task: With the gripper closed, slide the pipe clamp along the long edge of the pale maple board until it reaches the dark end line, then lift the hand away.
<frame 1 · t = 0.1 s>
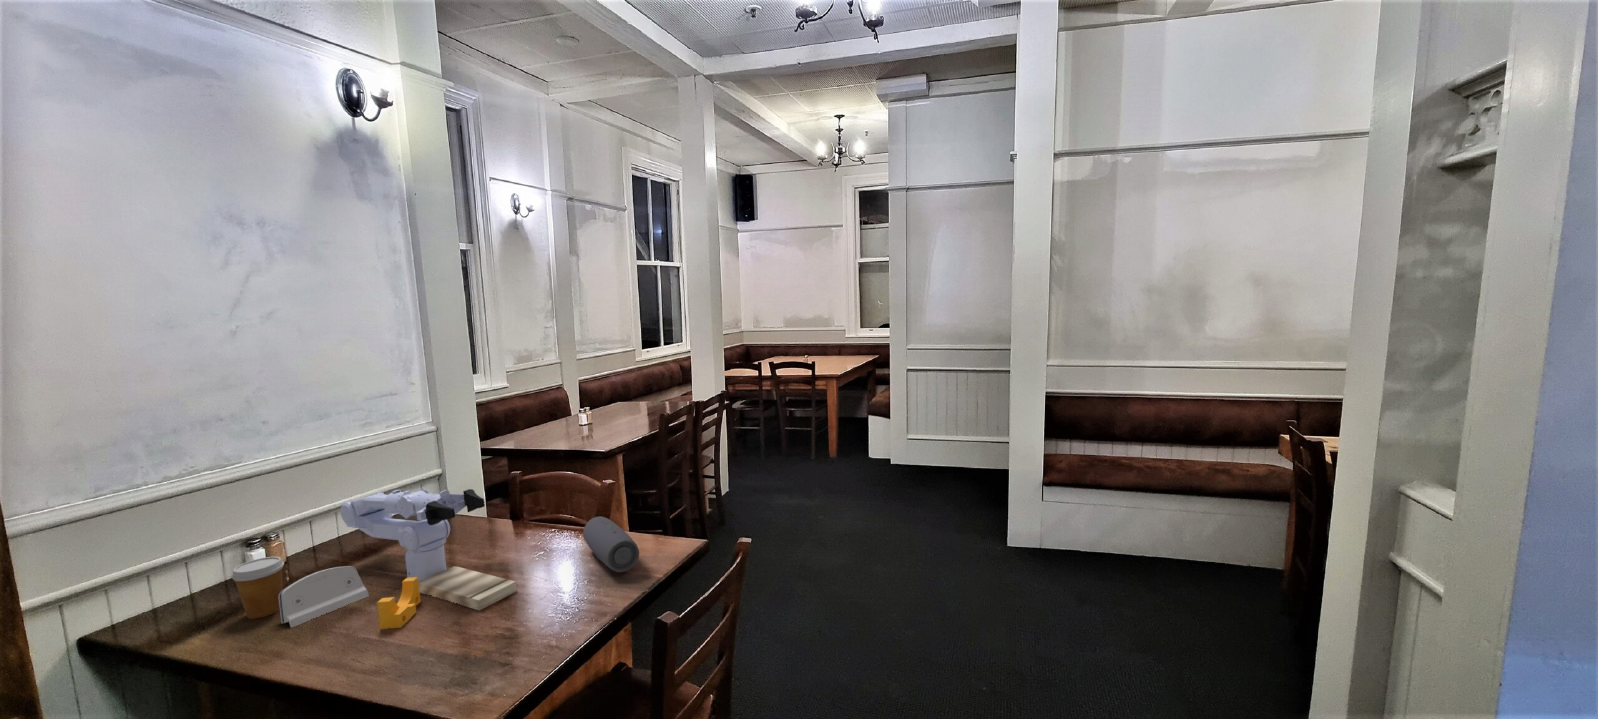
hand: (468, 507, 150), 22 cm above the table, tool horizontal, fingers open, 7 cm apart
gray arched bracket: (324, 609, 148), on the table
bluetooth speaker: (611, 562, 166), on the table
disposable coffee cup: (264, 612, 147), on the table
maple board: (466, 591, 153), on the table
pipe clamp: (405, 616, 143), on the table
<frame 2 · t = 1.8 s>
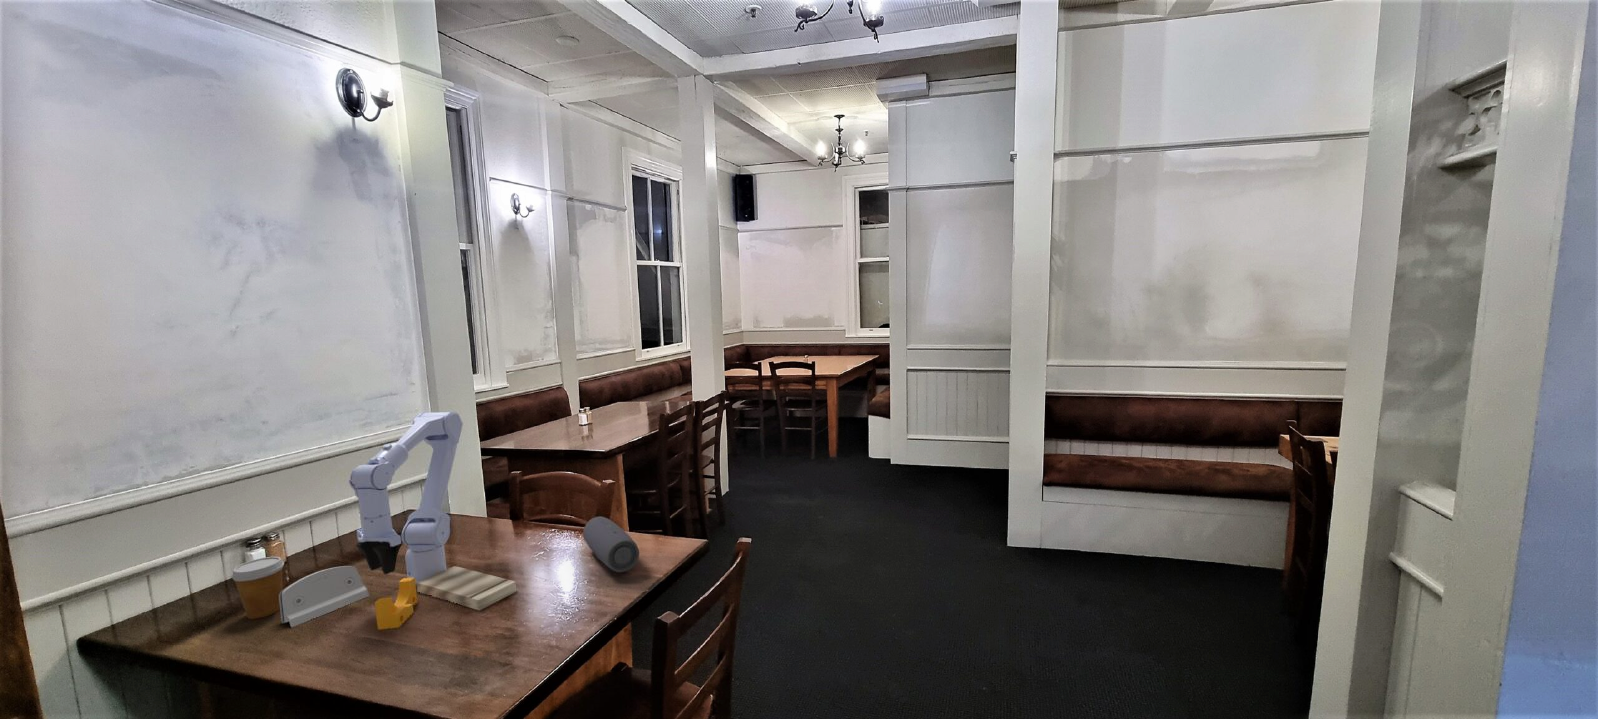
hand: (382, 570, 145), 9 cm above the table, tool pointing down, fingers open, 5 cm apart
nothing on the table moved.
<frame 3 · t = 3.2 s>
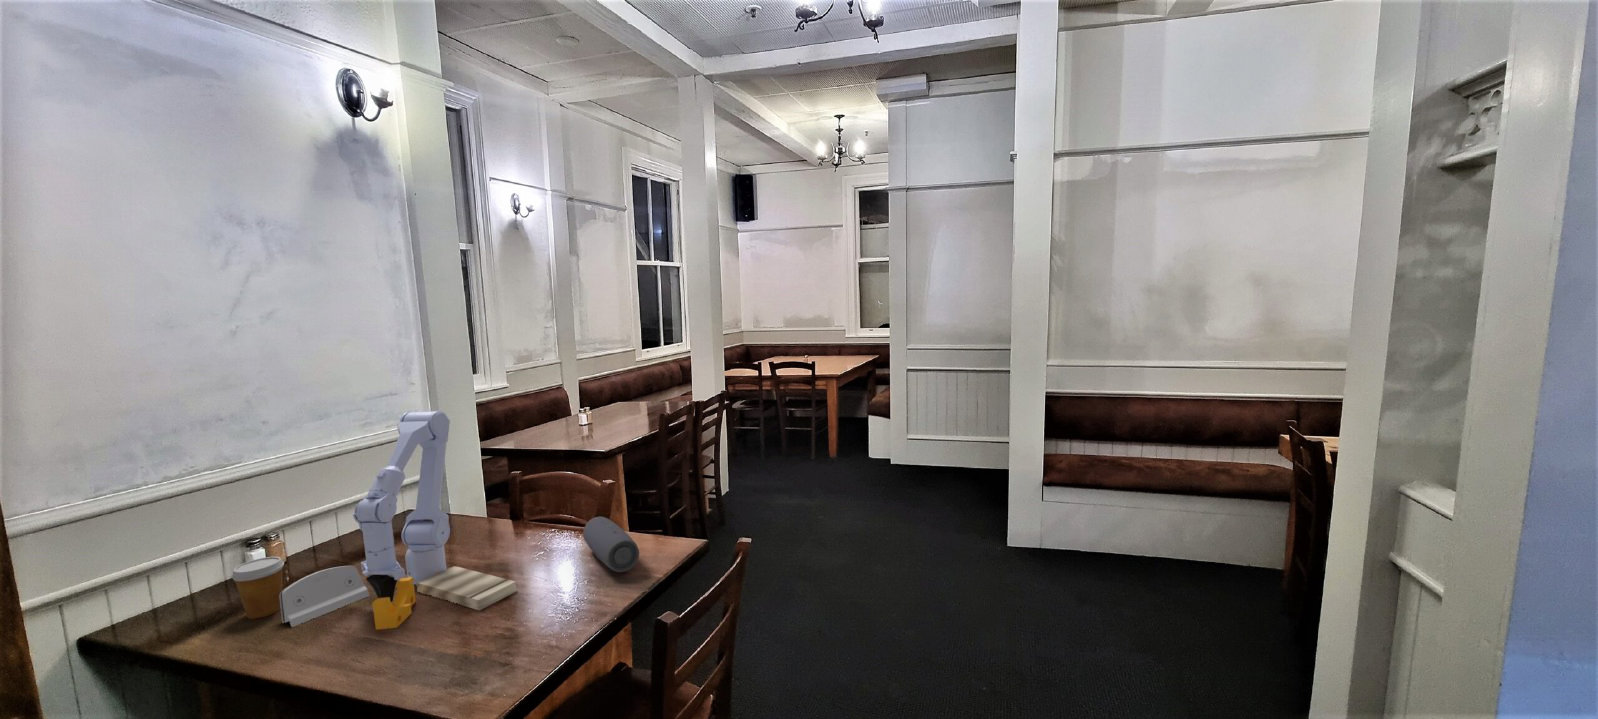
hand: (386, 602, 146), 1 cm above the table, tool pointing down, fingers closed
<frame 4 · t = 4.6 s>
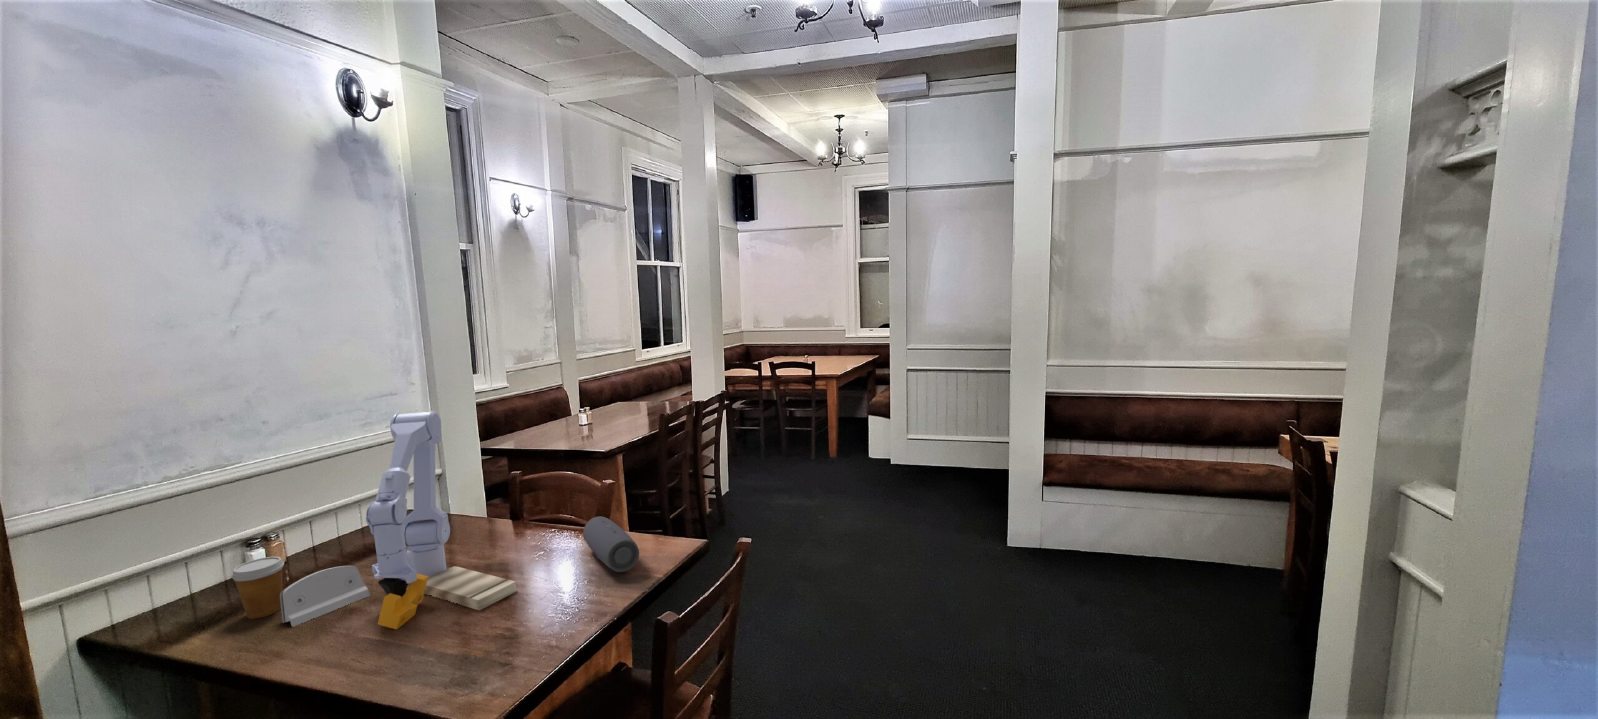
hand: (398, 606, 144), 1 cm above the table, tool pointing down, fingers closed, pressing on pipe clamp
pipe clamp: (404, 613, 142), point 1 cm above the table, touching gripper
everything else where it was.
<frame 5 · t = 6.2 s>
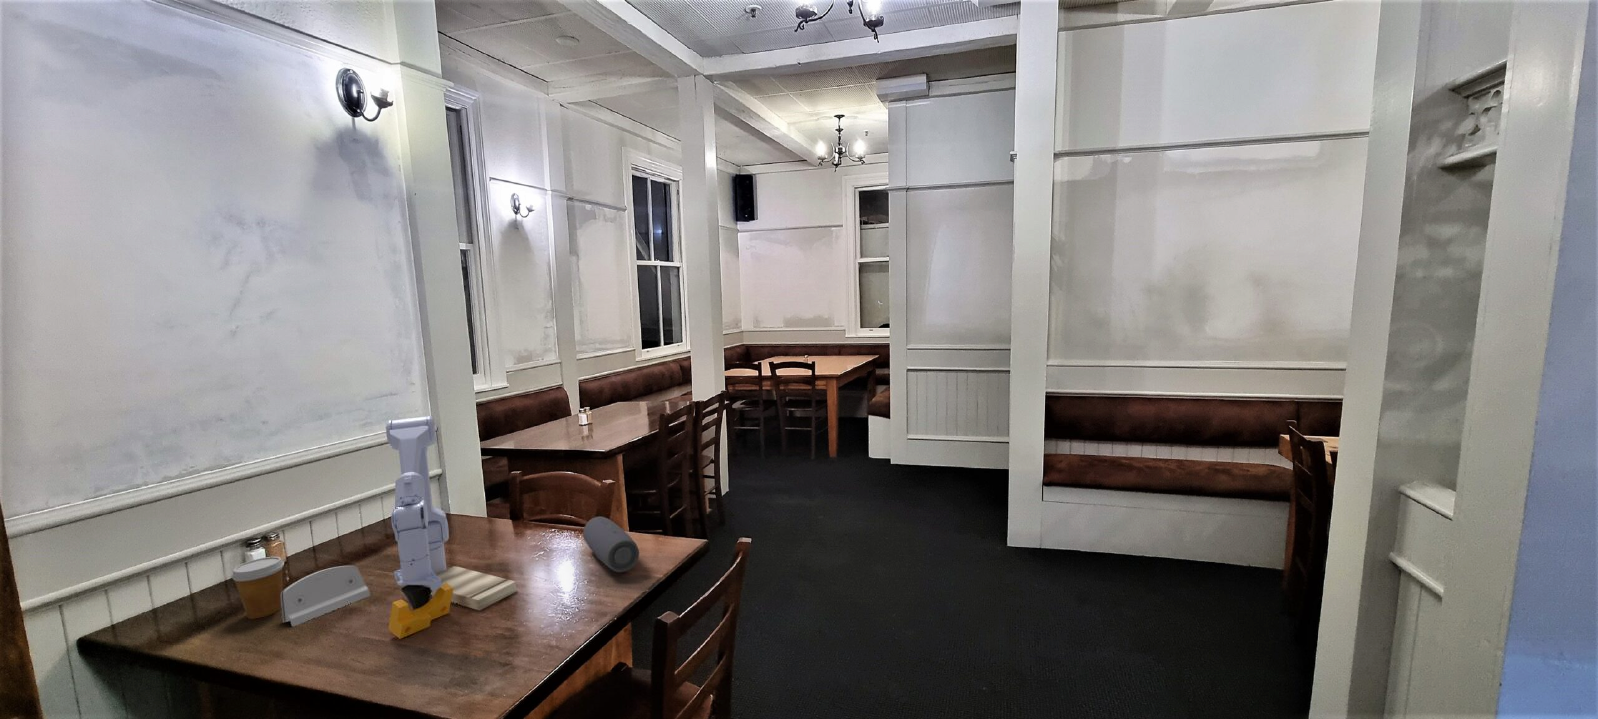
hand: (421, 613, 140), 1 cm above the table, tool pointing down, fingers closed
pipe clamp: (421, 623, 137), on the table, touching gripper
everything else where it was.
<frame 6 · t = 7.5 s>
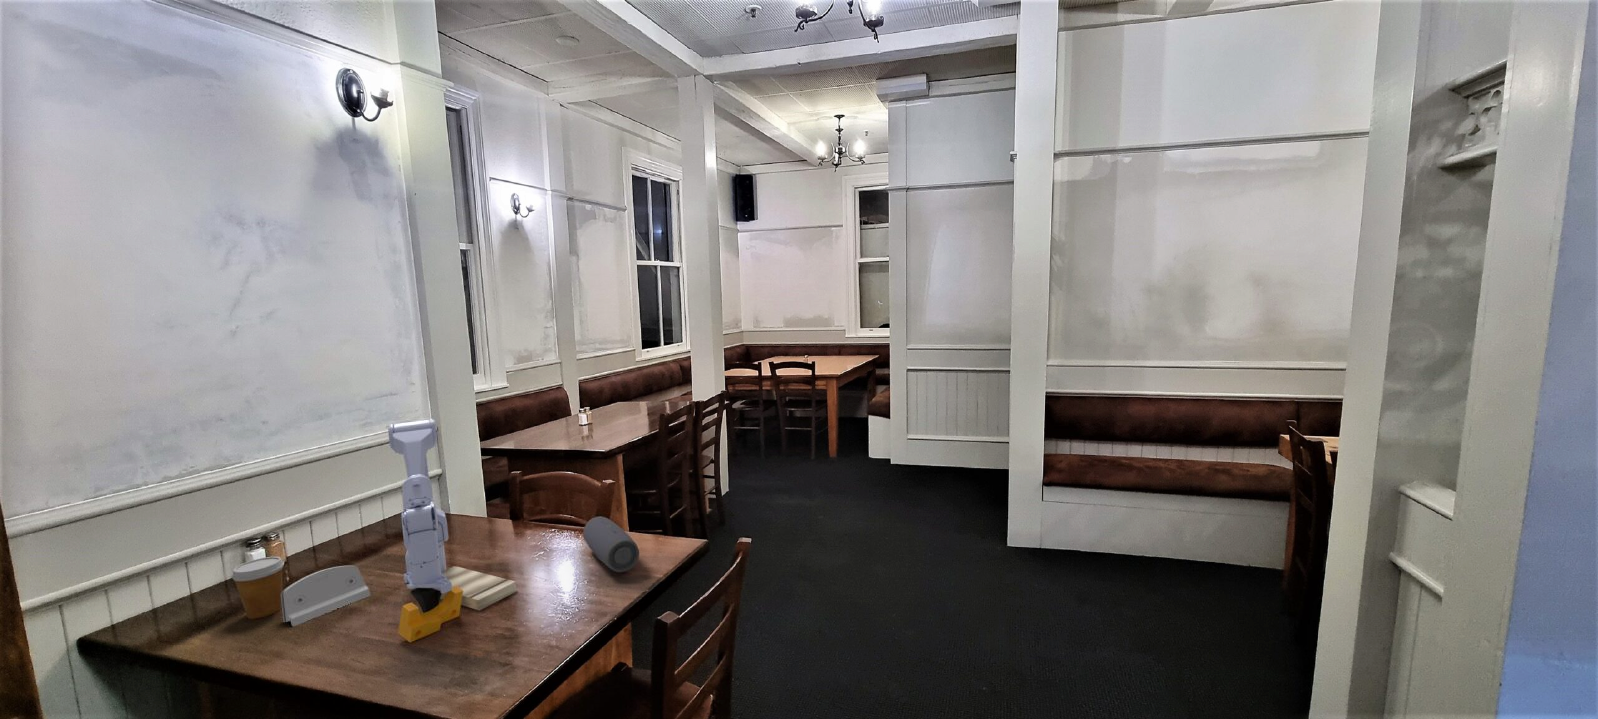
hand: (431, 617, 138), 1 cm above the table, tool pointing down, fingers closed
pipe clamp: (431, 626, 136), on the table, touching gripper
everything else where it was.
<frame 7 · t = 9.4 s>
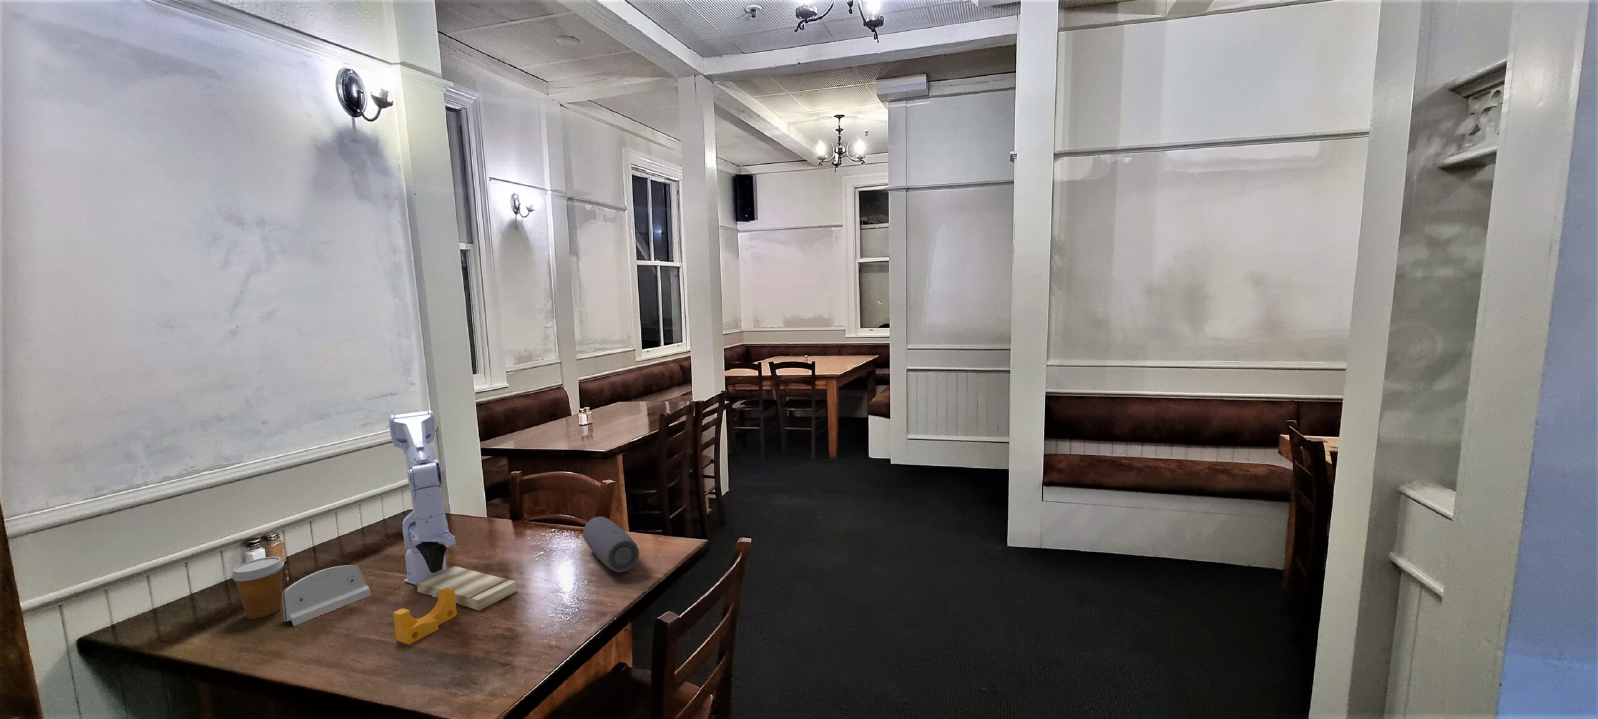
hand: (436, 570, 144), 9 cm above the table, tool pointing down, fingers closed
pipe clamp: (430, 629, 136), on the table
everything else where it was.
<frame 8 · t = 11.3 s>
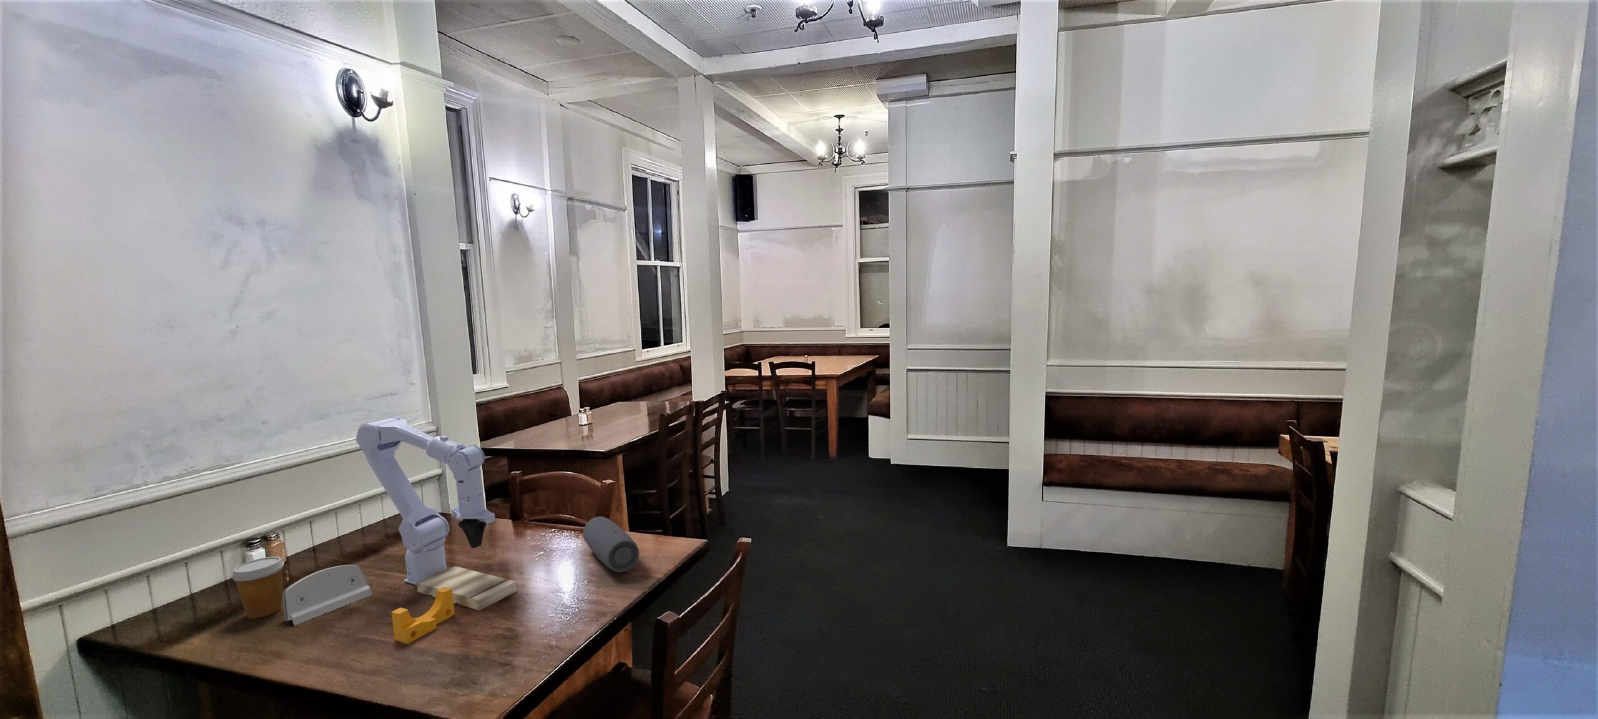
hand: (476, 546, 157), 9 cm above the table, tool pointing down, fingers closed
nothing on the table moved.
at the end: pipe clamp inside the target area on the table beside the maple board (2.3 cm from its centre), on the table; pipe clamp moved 10.9 cm from its start; pipe clamp tilted 0° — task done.
